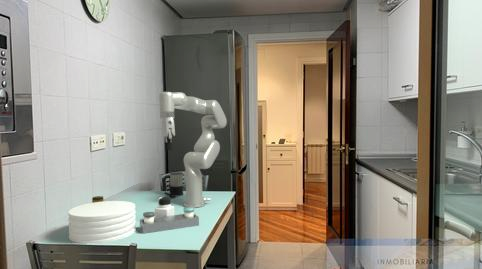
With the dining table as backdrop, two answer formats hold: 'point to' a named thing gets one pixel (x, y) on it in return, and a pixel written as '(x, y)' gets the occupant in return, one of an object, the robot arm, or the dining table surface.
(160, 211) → the medicine bottle
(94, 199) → the condiment
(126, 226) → the plate stack
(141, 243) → the dining table surface
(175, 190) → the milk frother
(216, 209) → the dining table surface
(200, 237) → the dining table surface
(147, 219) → the knob
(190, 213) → the knob
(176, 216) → the mount
